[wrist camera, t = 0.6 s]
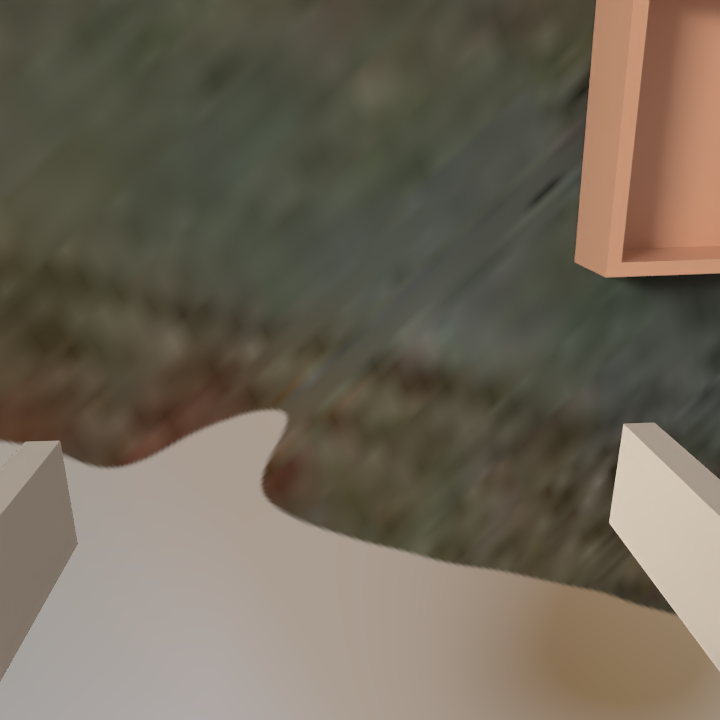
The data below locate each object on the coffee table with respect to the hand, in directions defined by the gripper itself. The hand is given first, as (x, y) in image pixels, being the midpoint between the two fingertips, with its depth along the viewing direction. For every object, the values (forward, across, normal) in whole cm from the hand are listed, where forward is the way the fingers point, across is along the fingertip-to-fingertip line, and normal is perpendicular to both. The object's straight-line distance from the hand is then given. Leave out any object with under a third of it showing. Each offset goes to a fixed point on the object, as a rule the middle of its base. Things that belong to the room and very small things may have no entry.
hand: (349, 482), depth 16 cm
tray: (+26, +23, +8) cm, 35 cm away
